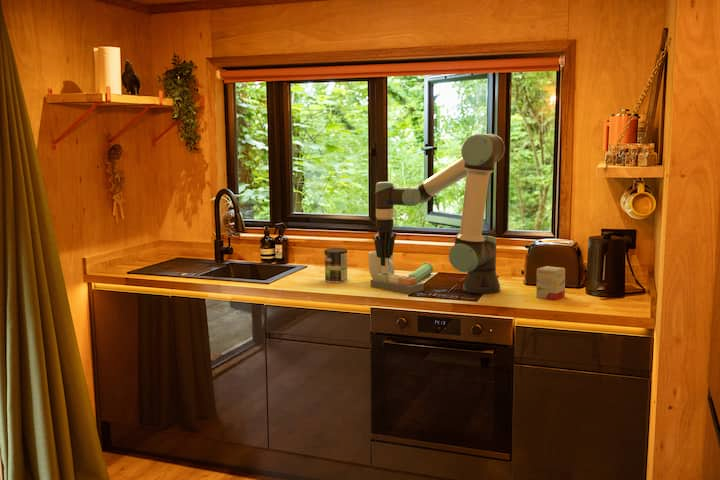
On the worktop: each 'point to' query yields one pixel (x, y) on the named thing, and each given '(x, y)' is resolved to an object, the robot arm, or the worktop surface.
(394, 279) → the tile cream
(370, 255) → the mug
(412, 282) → the tile terracotta
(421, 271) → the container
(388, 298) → the worktop surface
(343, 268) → the coffee can
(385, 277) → the tile sage
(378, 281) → the socket board
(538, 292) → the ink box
